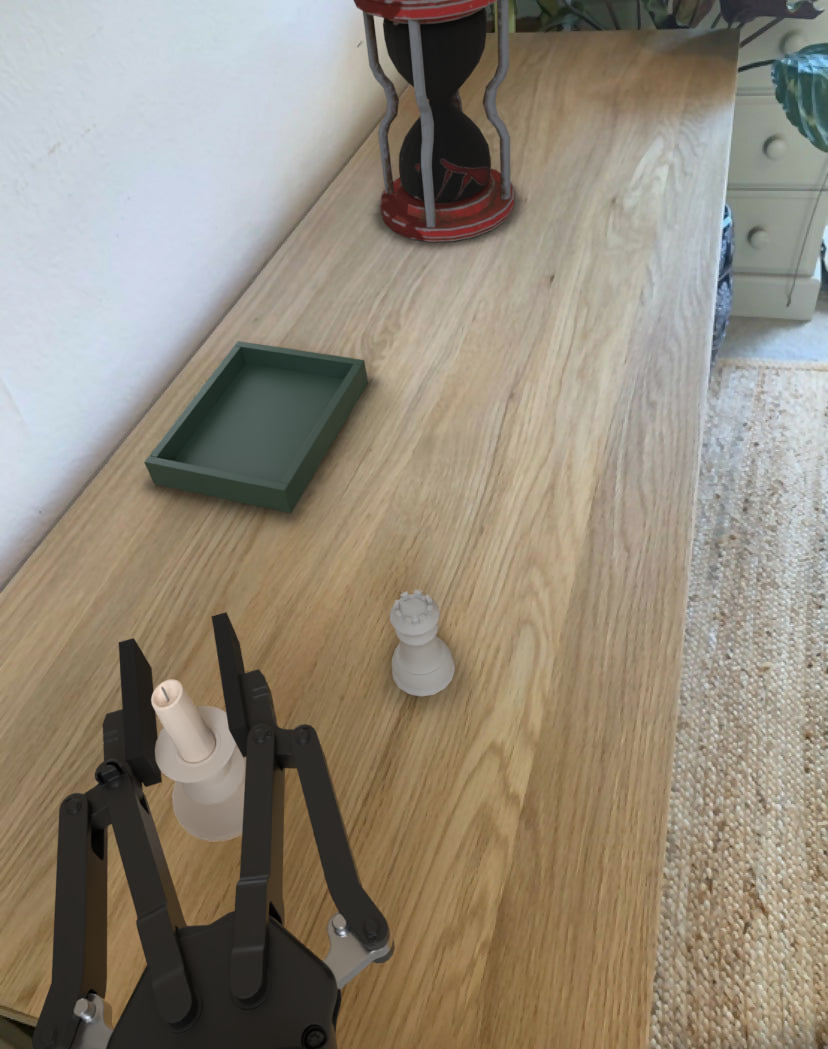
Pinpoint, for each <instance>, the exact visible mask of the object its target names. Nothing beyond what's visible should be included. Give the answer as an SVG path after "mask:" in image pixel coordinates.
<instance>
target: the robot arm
mask: <svg viewBox="0 0 828 1049" xmlns="http://www.w3.org/2000/svg"><path fill="white" fill-rule="evenodd" d="M211 622H212V628H213V635H214V642H215V649H216V654H217V661H218V662H217V663H218V667H219V674H220V680H221V681H220V682H221V689H222V694H223V700H224V707H225V712H226V714H227V721H228V727H229V731H230V733H231V735H232V737H233V739H234V741H235V743H236V744H237V746H238V748H239V750H240V752H241V754H242V756H243V758H244V757H246V771H245V789H244V808H243V827H242V835H241V848H240V849H241V850H240V865H239V866H240V868H239V879H238V881H237V882H236V886H235V896H234V897H235V898H234V910H233V911H230V912H227V913H226V914H224V915H223V916H220V917H219V918H218V919H216V920H214V921H213V922H211V923H209V924H199V925H188V923H187V922H186V919H185V917H184V914H183V910H182V907H181V904H180V900H179V898H178V895H177V892H176V887H175V885H174V882H173V878H172V875H171V872H170V869H169V865H168V862H167V859H166V855H165V853H164V849H163V846H162V843H161V839H160V837H159V834H158V831H157V827H156V824H155V821H154V816H153V814H152V811H151V808H150V804H149V801H148V798H147V796H146V794H145V792H144V788H147V787H151V786H154V785H157V784H162V783H163V780H162V772H161V771H160V769H159V767H158V765H157V763H156V759H155V745H156V741H157V739H158V736H159V734H158V724H157V723H158V722H157V714H156V712H155V710H154V708H153V706H152V702H151V698H152V694H153V692H154V690H155V689H154V681H153V680H154V679H153V668H152V666H151V665H150V663H149V660H148V659H147V657H146V656H145V655H144V653H143V650H142V649H141V648H140V646H139V644H138V642H137V640H136V639H135V638H134V637H133V638H129V639H125V640H121V641H119V642H118V656H119V659H118V660H119V673H120V674H119V675H120V690H121V707H122V708H121V709H118V710H115V711H111V712H108V713H106V714H105V716H104V719H103V722H102V742H103V744H102V745H103V746H102V747H103V761H102V762H101V763H100V764H99V765H98V766H97V768H96V769H95V772H94V780H95V781H96V782H97V784H96V785H95V786H93V787H92V788H90V789H89V790H87V791H86V792H84V793H81V792H74V793H71V794H69V795H67V796H66V797H65V798H64V799H63V800H62V802H61V803H60V804H59V809H58V826H57V827H58V830H57V850H56V851H57V852H56V870H55V871H56V873H55V892H54V893H55V896H54V918H53V938H52V939H53V940H52V960H51V962H52V964H51V981H50V982H51V984H50V985H49V989H48V991H47V993H46V997H45V1000H44V1003H43V1006H42V1008H41V1011H40V1014H39V1017H38V1019H37V1022H36V1025H35V1028H34V1031H33V1034H32V1038H31V1045H32V1049H339V1046H338V1041H337V1022H338V1017H339V1014H340V1010H341V1006H342V989H343V988H344V987H345V986H346V985H348V984H349V983H350V982H351V981H352V980H354V979H355V978H356V976H358V975H359V974H360V973H362V971H364V970H365V969H366V968H367V967H368V966H370V964H371V963H374V964H379V965H380V964H384V963H386V962H388V961H390V959H391V958H392V957H393V955H394V953H395V949H396V947H395V940H394V938H393V934H392V931H391V929H390V926H389V923H388V921H387V919H386V918H385V916H384V914H383V913H382V912H381V910H380V909H379V908H378V906H377V905H376V904H375V902H374V901H373V900H372V899H371V897H370V895H369V894H368V893H367V891H366V890H365V889H364V887H363V884H362V881H361V878H360V874H359V870H358V866H357V863H356V860H355V856H354V853H353V849H352V846H351V843H350V838H349V835H348V831H347V828H346V825H345V821H344V817H343V814H342V811H341V807H340V804H339V803H340V802H339V800H338V796H337V793H336V789H335V786H334V782H333V779H332V775H331V773H330V768H329V765H328V762H327V757H326V755H325V753H324V749H323V746H322V743H321V740H320V738H319V735H318V733H317V731H316V729H315V728H314V727H313V726H312V725H310V724H305V723H304V724H299V725H297V726H296V727H294V729H293V728H292V729H287V728H282V727H280V726H279V725H278V720H277V715H276V709H275V704H274V699H273V694H272V690H271V689H270V686H269V684H268V680H267V678H266V676H265V675H264V673H263V672H262V671H261V670H260V668H257V669H254V670H251V671H248V672H246V670H245V664H244V659H243V654H242V648H241V642H240V640H239V637H238V635H237V633H236V630H235V628H234V626H233V624H232V621H231V619H230V617H229V614H228V612H227V611H225V612H222V613H218V614H214V615H211ZM286 769H292V770H293V769H294V770H296V771H297V775H298V779H299V782H300V786H301V790H302V794H303V798H304V802H305V805H306V810H307V813H308V817H309V821H310V825H311V829H312V833H313V837H314V840H315V844H316V849H317V853H318V856H319V860H320V863H321V868H322V872H323V876H324V879H325V883H326V887H327V889H328V892H329V895H330V897H331V899H332V902H333V903H334V906H335V907H336V909H337V911H336V912H335V913H334V914H333V915H332V916H331V917H330V918H329V920H328V922H327V925H326V933H327V936H328V939H329V950H328V952H327V955H326V956H325V957H324V959H321V958H320V957H319V956H318V955H316V953H314V952H313V951H312V950H311V949H310V948H308V946H306V945H305V944H304V943H303V942H302V941H301V940H299V938H298V937H296V936H295V935H294V934H293V933H292V932H290V930H288V929H287V928H286V927H285V923H286V922H285V919H286V918H285V915H286V912H285V911H286V910H285V903H284V896H283V895H284V893H283V891H284V889H283V888H284V842H285V840H284V839H285V837H284V836H285V794H286V793H285V791H286V789H285V788H286V787H285V786H286ZM143 787H144V788H143ZM110 825H111V827H112V830H113V834H114V838H115V841H116V845H117V849H118V852H119V856H120V860H121V863H122V866H123V870H124V871H123V872H124V875H125V878H126V881H127V886H128V888H129V892H130V895H131V900H132V903H133V907H134V910H135V914H136V920H135V924H136V929H137V933H138V937H139V939H140V940H139V941H140V944H141V947H142V951H143V954H144V959H145V962H146V965H145V967H144V969H143V971H142V973H141V975H140V977H139V979H138V981H137V983H136V985H135V987H134V989H133V990H132V993H131V995H130V997H129V999H128V1001H127V1003H126V1005H125V1006H124V1007H123V1008H124V1009H123V1010H122V1012H121V1014H120V1016H119V1019H118V1020H117V1022H116V1024H115V1026H113V1007H112V1005H111V1003H110V1002H108V1001H107V1000H106V993H107V986H108V985H107V983H108V881H109V880H108V877H109V876H108V872H109V871H108V867H109V866H108V865H109V864H108V862H109V861H108V860H109V859H108V858H109V857H108V856H109V850H108V846H109V844H108V843H109V842H108V841H109V839H108V837H109V827H110Z"/></svg>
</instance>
